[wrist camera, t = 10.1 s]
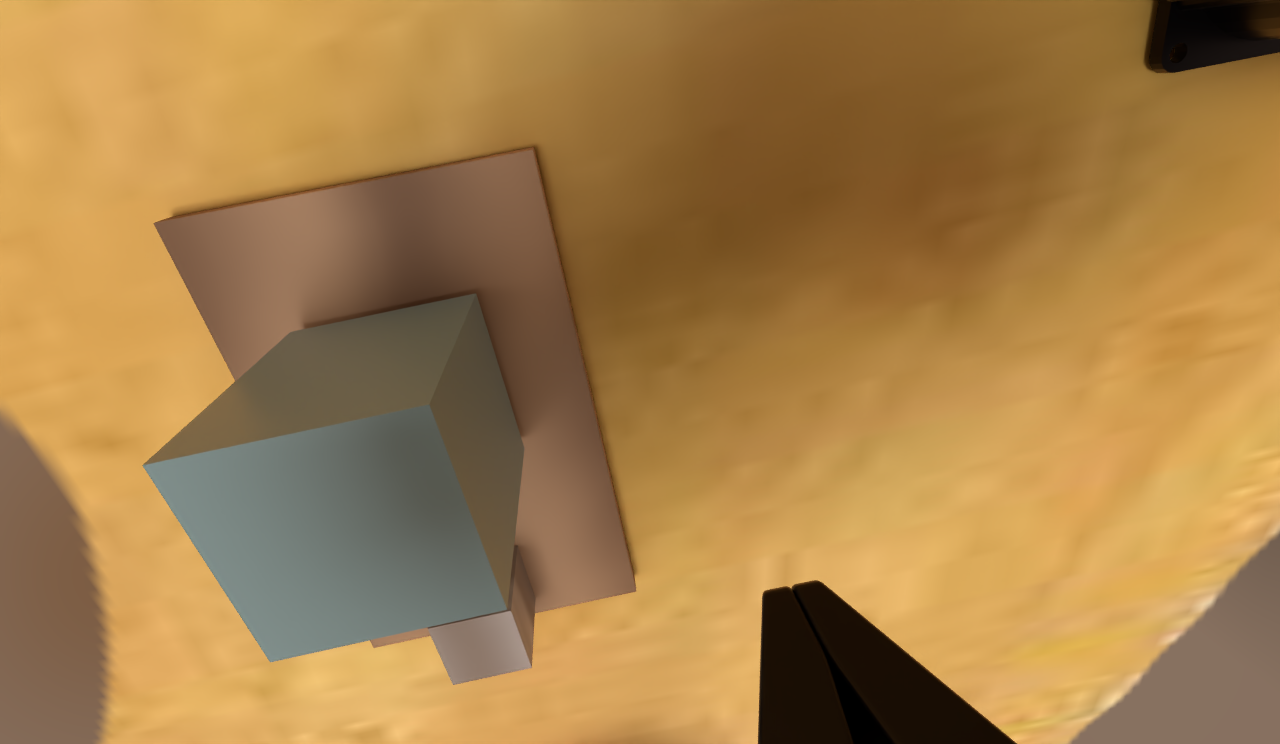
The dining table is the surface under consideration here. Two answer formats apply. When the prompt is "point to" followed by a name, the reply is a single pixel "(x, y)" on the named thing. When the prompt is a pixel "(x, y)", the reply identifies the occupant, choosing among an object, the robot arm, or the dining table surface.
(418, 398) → the grey-blue rectangular block
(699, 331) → the dining table surface
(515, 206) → the stand
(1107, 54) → the dining table surface
